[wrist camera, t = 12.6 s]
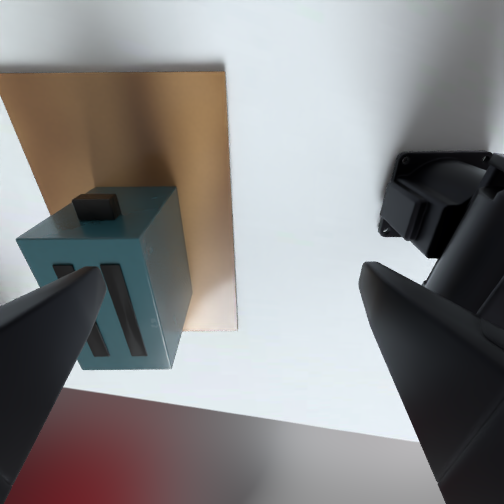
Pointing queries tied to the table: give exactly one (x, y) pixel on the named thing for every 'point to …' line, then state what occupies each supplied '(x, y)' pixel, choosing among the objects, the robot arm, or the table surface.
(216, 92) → the mat
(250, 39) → the table surface
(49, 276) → the toaster
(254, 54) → the table surface
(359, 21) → the table surface
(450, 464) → the robot arm
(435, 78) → the table surface
